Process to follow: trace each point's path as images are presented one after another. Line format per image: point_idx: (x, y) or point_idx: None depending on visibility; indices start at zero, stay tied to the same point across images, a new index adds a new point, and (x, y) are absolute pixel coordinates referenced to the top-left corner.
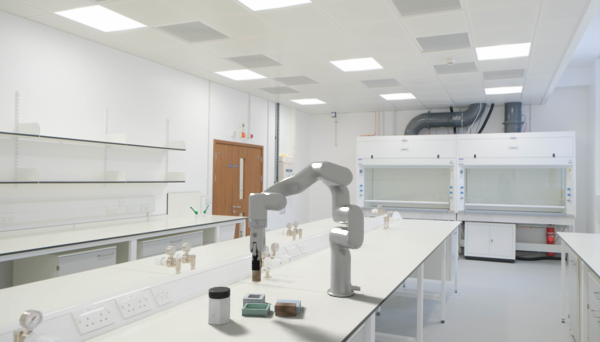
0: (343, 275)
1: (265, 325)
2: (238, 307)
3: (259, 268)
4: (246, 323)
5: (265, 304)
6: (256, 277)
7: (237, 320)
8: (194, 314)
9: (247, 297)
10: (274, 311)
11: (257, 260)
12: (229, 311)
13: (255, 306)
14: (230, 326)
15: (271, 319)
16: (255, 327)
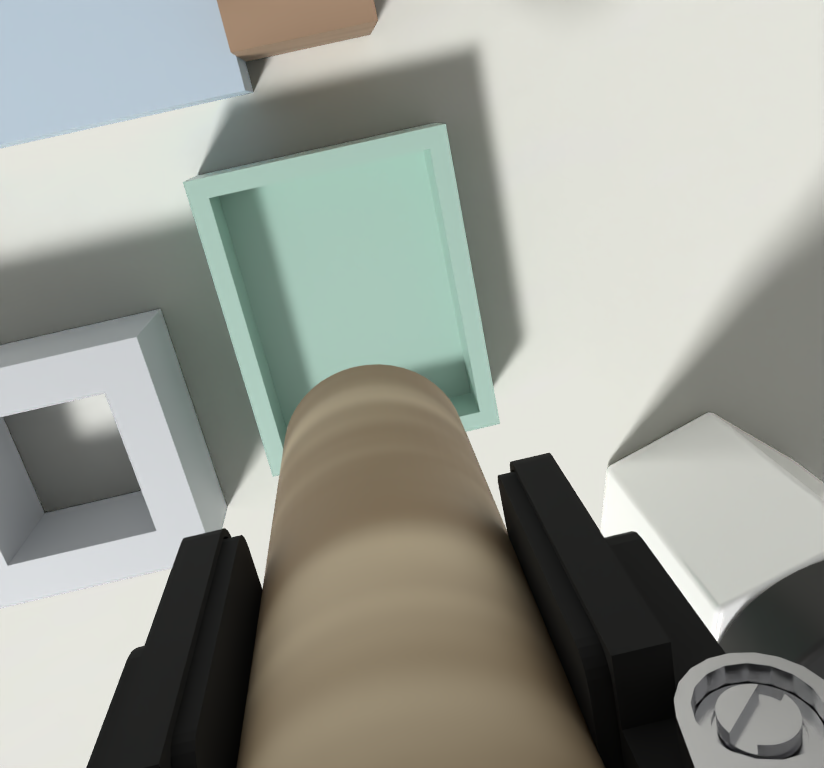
0: None
1: (716, 22)
2: (259, 540)
3: (563, 475)
4: (697, 250)
5: (221, 240)
6: (473, 451)
7: (635, 371)
8: None
9: (146, 533)
10: (252, 90)
11: (748, 712)
12: (770, 457)
13: (262, 355)
14: (801, 357)
15: (513, 28)
16: (791, 109)
